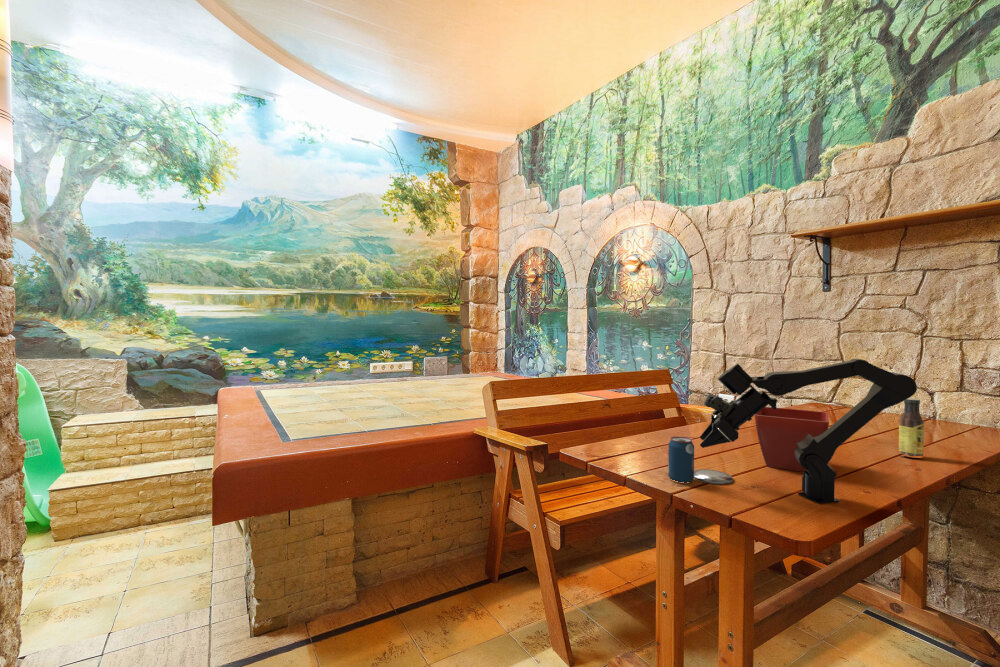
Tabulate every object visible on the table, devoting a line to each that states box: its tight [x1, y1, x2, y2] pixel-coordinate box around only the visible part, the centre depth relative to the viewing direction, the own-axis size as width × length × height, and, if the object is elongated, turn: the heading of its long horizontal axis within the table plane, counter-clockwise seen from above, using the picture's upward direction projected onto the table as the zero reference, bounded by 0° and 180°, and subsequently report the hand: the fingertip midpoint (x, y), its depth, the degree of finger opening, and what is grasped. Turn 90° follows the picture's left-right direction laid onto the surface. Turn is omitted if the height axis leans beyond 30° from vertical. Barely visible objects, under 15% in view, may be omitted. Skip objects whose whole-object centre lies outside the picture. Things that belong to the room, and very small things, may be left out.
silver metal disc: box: [694, 468, 734, 486], centre depth 131 cm, size 11×11×1 cm
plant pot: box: [754, 406, 830, 473], centre depth 143 cm, size 19×19×17 cm
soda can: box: [667, 436, 695, 483], centre depth 129 cm, size 7×7×12 cm
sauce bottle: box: [898, 398, 925, 456], centre depth 152 cm, size 6×6×20 cm
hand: (700, 442), depth 127 cm, fingers open, 9 cm apart
